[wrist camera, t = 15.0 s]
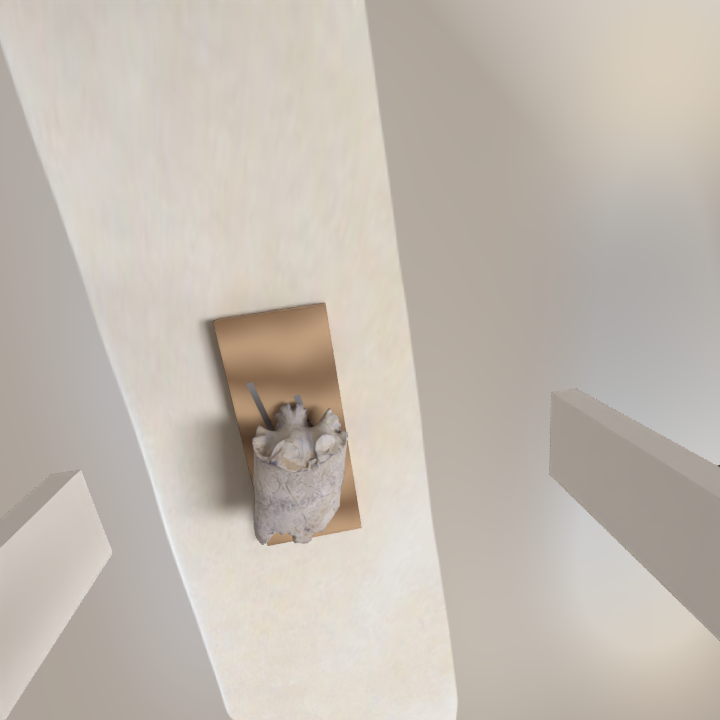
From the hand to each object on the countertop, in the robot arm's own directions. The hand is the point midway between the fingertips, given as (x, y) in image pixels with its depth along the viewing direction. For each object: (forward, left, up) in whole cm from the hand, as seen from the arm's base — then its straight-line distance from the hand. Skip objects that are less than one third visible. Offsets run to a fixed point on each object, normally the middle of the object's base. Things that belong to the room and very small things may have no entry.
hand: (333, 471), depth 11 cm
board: (+11, -4, -27) cm, 30 cm away
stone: (+13, -4, -26) cm, 29 cm away
